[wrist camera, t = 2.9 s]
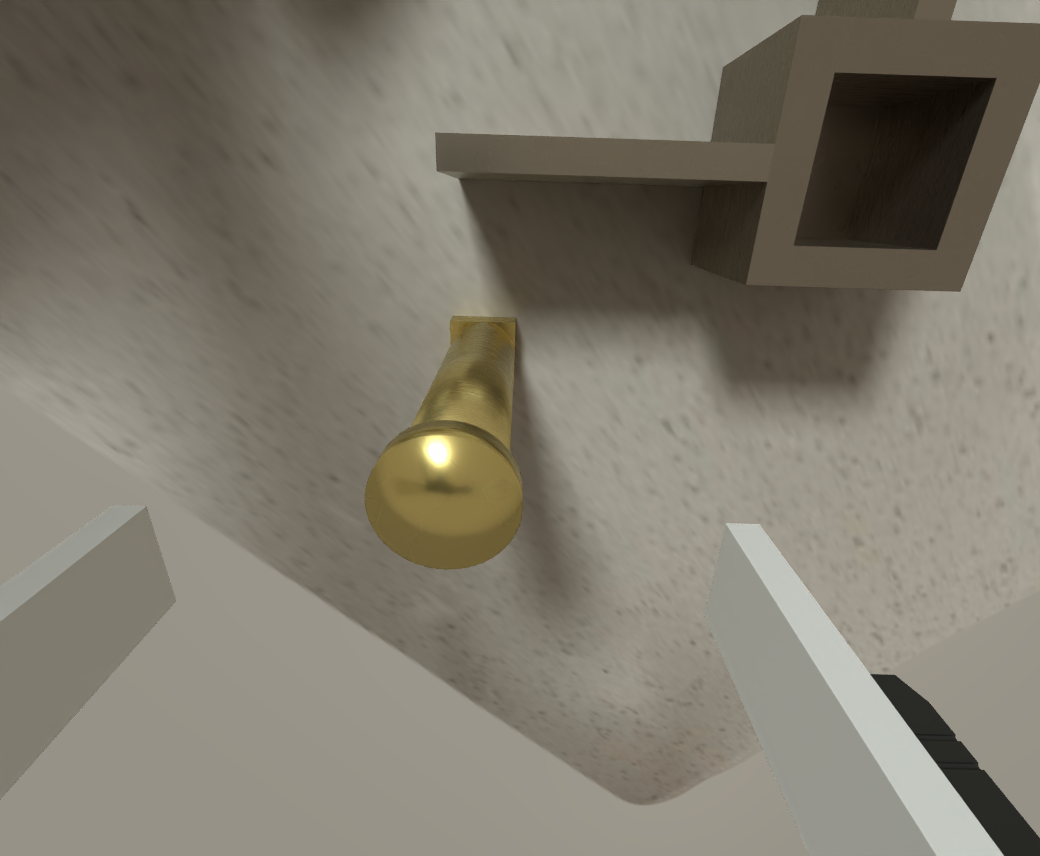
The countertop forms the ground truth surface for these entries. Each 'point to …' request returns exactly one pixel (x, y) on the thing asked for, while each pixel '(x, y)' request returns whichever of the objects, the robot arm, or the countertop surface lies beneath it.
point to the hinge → (826, 148)
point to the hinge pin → (455, 458)
